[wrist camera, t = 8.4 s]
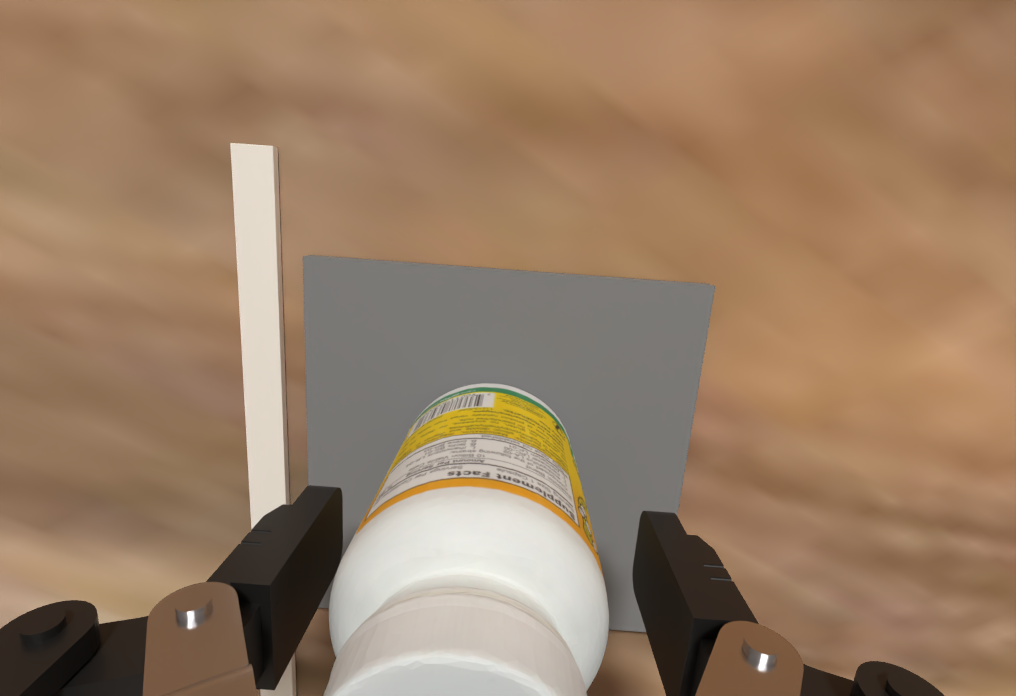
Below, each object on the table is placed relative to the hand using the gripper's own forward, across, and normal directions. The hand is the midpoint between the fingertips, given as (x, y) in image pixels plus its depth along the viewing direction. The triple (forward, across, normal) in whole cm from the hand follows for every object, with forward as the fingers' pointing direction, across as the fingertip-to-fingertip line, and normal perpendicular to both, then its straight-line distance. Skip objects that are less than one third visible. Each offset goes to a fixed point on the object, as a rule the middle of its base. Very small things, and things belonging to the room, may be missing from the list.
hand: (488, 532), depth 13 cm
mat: (+5, 0, 0) cm, 5 cm away
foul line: (+5, +8, +1) cm, 9 cm away
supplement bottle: (+4, 0, 0) cm, 4 cm away
